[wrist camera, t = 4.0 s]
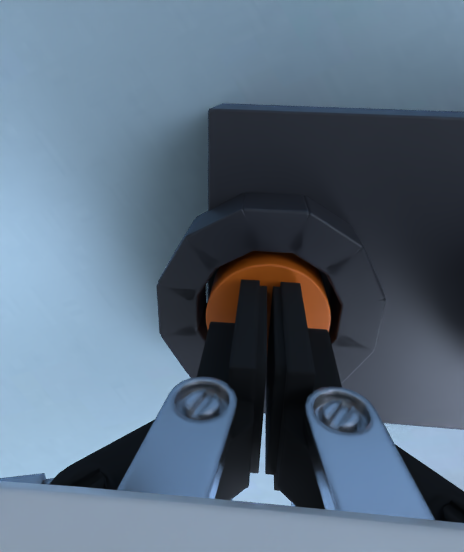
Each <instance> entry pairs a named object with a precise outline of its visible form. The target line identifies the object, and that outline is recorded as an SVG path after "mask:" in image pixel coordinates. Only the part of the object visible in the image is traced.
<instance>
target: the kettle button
mask: <svg viewBox="0 0 464 552" xmlns="http://www.w3.org/2000/svg"><path fill="white" fill-rule="evenodd" d="M241 279H244V280H260V286H267V351H268V339H269V327H270V315H271V302H272V290H273V286H276V287H280V283H281V282H292V283H300V285H301V291H302V297H303V303H304V309H305V315H306V321H307V327H308V328H314V329H327V330H328V332H329V328H330V323H331V311H330V307H329V302H328V299H327V295H326V292H325V288H324V284H323V281H322V278H321V275H320V273H319V271H318V269H317V268H316V267H314V266H312V265H311V264H309V263H307V262H306V261H304V260H303V259H301V258H299V257H298V256H296V255H295V254H293V253H279V252H262V251H252V252H250V253H248V254H246V255H244V256H241V257H239V258H237V259H235V260H233V261H231V262H229V263H226V264H224V265H222V266H220V267H219V269H218V271H217V273H216V275H215V278H214V282H213V285H212V289H211V292H210V296H209V300H208V303H207V308H206V325H207V329H209V325H210V322H226V323H235V319H236V312H237V305H238V298H239V290H240V283H241Z"/></svg>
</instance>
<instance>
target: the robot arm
mask: <svg viewBox="0 0 464 552" xmlns="http://www.w3.org/2000/svg"><path fill="white" fill-rule="evenodd" d="M265 388H266V457H265V472H266V474H272V475H274V490H278V491H281V492H282V493H283V494H284V495H285V496H286V497H287V498H288V499H289V500H290V501H291V506H284V505H274V504H263V503H253V502H242V501H232V499H233V498H234V497H235V496H236V495H238V494H239V493H240V492H241V491H243V490H244V489H245V488H248V486H249V476H250V473H258V471H259V460H260V448H261V436H262V424H263V412H264V400H265ZM0 552H464V491H462V490H461V489H459V488H458V487H456V486H455V485H454V484H452V483H451V482H449V481H448V480H446V479H445V478H443V477H442V476H440V475H439V474H437V473H436V472H435V471H433V470H432V469H430V468H429V467H427V466H426V465H424V464H423V463H421V462H420V461H418V460H417V459H416V458H414V457H413V456H411V455H410V454H408V453H407V452H405V451H404V450H402V449H401V448H399V447H398V446H397V445H395V444H394V442H393V440H392V438H391V437H390V435H389V433H388V431H387V429H386V427H385V425H384V424H383V422H382V420H381V418H380V416H379V414H378V412H377V410H376V409H375V408H374V406H373V405H372V404H371V402H370V401H369V400H367V399H366V398H365V397H364V396H362V395H361V394H359V393H357V392H355V391H353V390H350V389H346V388H343V387H342V385H341V381H340V377H339V373H338V369H337V365H336V361H335V356H334V352H333V348H332V344H331V340H330V336H329V333H328V330H327V329H314V328H308V327H307V321H306V315H305V309H304V303H303V297H302V291H301V285H300V283H292V282H281V283H280V287H276V286H273V290H272V302H271V315H270V327H269V339H268V351H267V286H260V280H244V279H241V283H240V290H239V298H238V305H237V312H236V319H235V323H226V322H210V325H209V329H208V333H207V337H206V341H205V345H204V349H203V353H202V357H201V361H200V366H199V370H198V374H197V377H194V378H190V379H187V380H184V381H182V382H181V383H179V384H178V385H176V386H175V387H174V388H173V389H172V391H171V392H170V393H169V395H168V397H167V399H166V400H165V402H164V404H163V406H162V408H161V410H160V411H159V413H158V415H157V417H156V419H155V420H153V421H151V422H149V423H148V424H146V425H144V426H142V427H140V428H138V429H137V430H135V431H133V432H131V433H129V434H127V435H125V436H124V437H122V438H120V439H118V440H116V441H114V442H112V443H111V444H109V445H107V446H105V447H103V448H101V449H100V450H98V451H96V452H94V453H92V454H90V455H88V456H87V457H85V458H83V459H81V460H79V461H77V462H76V463H74V464H72V465H70V466H69V467H67V468H66V469H64V470H63V471H61V472H60V473H59V474H58V475H57V476H56V477H55V478H52V479H46V478H45V474H44V473H42V474H33V475H24V476H16V477H7V478H0Z"/></svg>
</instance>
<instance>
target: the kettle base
mask: <svg viewBox="0 0 464 552" xmlns="http://www.w3.org/2000/svg"><path fill="white" fill-rule="evenodd" d="M252 251H262V252H279V253H293V254H295V255H296V256H298V257H299V258H301V259H303V260H304V261H306V262H307V263H309V264H311V265H312V266H314V267H316V268H317V269H318V271H319V273H320V275H321V278H322V281H323V284H324V288H325V292H326V295H327V299H328V302H329V307H330V311H331V323H330V328H329V332H328V333H329V336H330V340H331V344H332V348H333V352H334V356H335V361H336V365H337V369H338V373H339V377H340V381H341V385H342V387H343V388H346V389H350V390H353V391H355V392H357V393H359V394H361V395H362V396H364V397H365V398H366V399H367V400H369V401H370V402H371V404H372V405H373V406H374V408H375V409H376V410H377V412H378V414H379V416H380V418H381V420H382V422H383V423H389V424H401V425H413V426H425V427H438V428H450V429H462V430H464V112H453V111H424V110H395V109H366V108H337V107H309V106H280V105H251V104H220V105H218V106H215V107H213V108H210V109H209V111H208V211H207V212H205V213H203V214H201V215H199V216H197V217H196V219H195V220H194V221H193V222H192V224H191V226H190V227H189V229H188V231H187V232H186V234H185V236H184V237H183V239H182V241H181V242H180V244H179V246H178V247H177V249H176V251H175V252H174V254H173V256H172V257H171V259H170V261H169V263H168V264H167V266H166V268H165V270H164V272H163V273H162V275H161V277H160V279H159V281H158V284H157V299H158V315H159V332H160V334H161V336H162V338H163V340H164V341H165V342H166V344H167V345H168V347H169V348H170V349H171V351H172V352H173V354H174V355H175V357H176V358H177V359H178V361H179V362H180V364H181V365H182V366H183V368H184V369H185V371H186V372H187V373H188V374H189V376H190V377H191V378H194V377H197V374H198V370H199V366H200V361H201V357H202V353H203V349H204V345H205V341H206V337H207V333H208V329H207V325H206V308H207V303H206V283H207V282H208V300H209V296H210V292H211V289H212V285H213V282H214V278H215V275H216V273H217V271H218V269H219V267H220V266H222V265H224V264H226V263H229V262H231V261H233V260H235V259H237V258H239V257H241V256H244V255H246V254H248V253H250V252H252ZM263 413H266V388H265V400H264V412H263Z"/></svg>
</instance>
